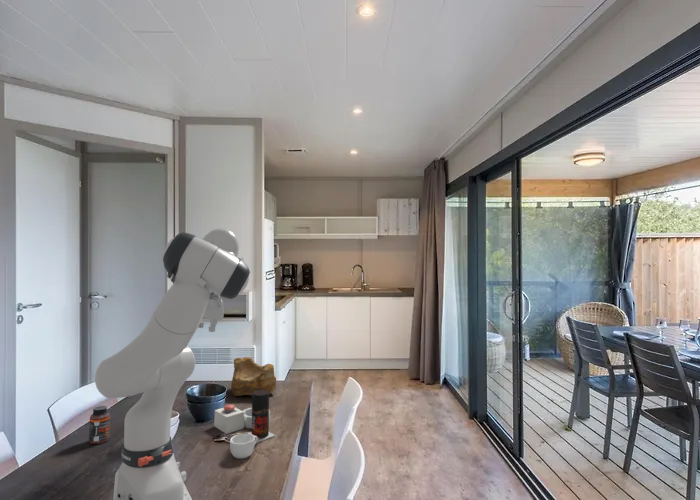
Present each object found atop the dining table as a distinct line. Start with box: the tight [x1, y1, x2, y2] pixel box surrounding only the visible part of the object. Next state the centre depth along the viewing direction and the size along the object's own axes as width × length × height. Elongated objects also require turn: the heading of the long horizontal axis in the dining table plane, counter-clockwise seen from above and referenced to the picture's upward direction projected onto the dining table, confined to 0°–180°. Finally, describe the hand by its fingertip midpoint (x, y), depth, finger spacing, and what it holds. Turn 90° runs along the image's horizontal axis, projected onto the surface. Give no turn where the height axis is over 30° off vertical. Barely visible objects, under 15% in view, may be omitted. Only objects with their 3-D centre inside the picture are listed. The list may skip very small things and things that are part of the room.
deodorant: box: [251, 390, 270, 439], centre depth 148 cm, size 6×6×15 cm
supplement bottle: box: [88, 405, 111, 445], centre depth 142 cm, size 6×6×11 cm
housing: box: [213, 406, 271, 435], centre depth 157 cm, size 13×18×6 cm
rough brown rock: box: [230, 356, 277, 397], centre depth 191 cm, size 23×17×15 cm
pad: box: [248, 431, 276, 444], centre depth 148 cm, size 8×8×1 cm
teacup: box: [229, 432, 258, 459], centre depth 135 cm, size 10×8×5 cm
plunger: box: [223, 403, 236, 414], centre depth 155 cm, size 4×4×6 cm
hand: (206, 329), depth 153 cm, fingers open, 8 cm apart
